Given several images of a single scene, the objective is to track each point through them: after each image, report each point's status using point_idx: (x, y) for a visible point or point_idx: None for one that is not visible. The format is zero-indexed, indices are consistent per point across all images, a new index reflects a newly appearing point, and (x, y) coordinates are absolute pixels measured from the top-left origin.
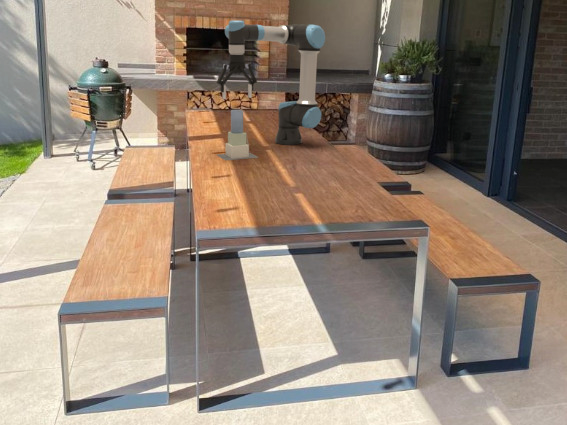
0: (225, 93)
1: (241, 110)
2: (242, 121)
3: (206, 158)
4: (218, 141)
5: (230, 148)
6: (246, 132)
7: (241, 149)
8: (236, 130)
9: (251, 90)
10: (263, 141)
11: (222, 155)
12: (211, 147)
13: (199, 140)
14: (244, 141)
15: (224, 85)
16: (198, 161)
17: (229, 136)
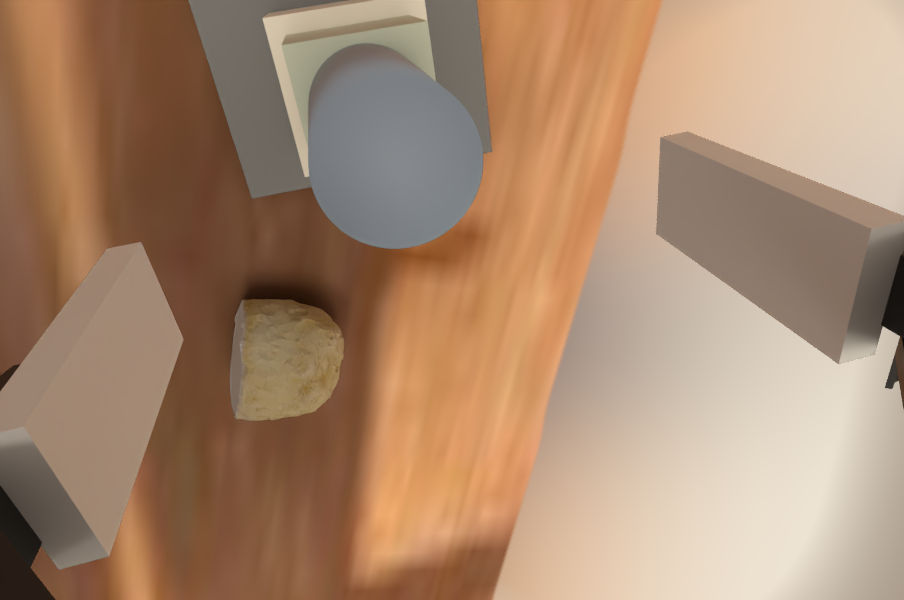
0: (732, 163)
1: (331, 160)
2: (320, 87)
3: (557, 104)
4: (388, 517)
5: None
6: (239, 395)
7: (333, 5)
8: (390, 50)
9: (52, 328)
10: None
11: None
12: (455, 391)
13: (478, 535)
14: (301, 35)
15: (883, 258)
16: (629, 21)
17: None
